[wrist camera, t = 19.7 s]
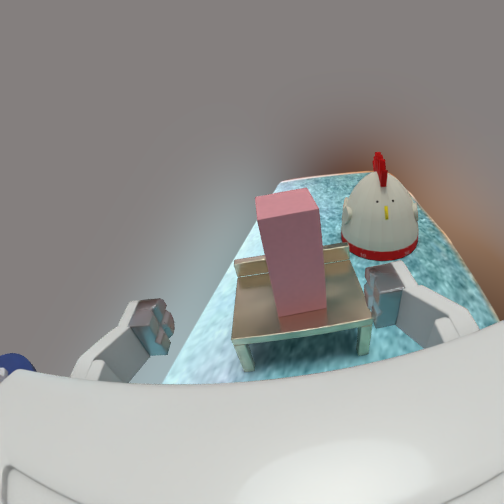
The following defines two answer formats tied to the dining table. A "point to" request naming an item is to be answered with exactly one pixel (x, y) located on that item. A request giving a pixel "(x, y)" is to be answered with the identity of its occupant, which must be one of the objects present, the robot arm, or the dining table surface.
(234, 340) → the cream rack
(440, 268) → the dining table surface
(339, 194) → the dining table surface
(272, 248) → the pink carton
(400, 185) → the kitchen timer
